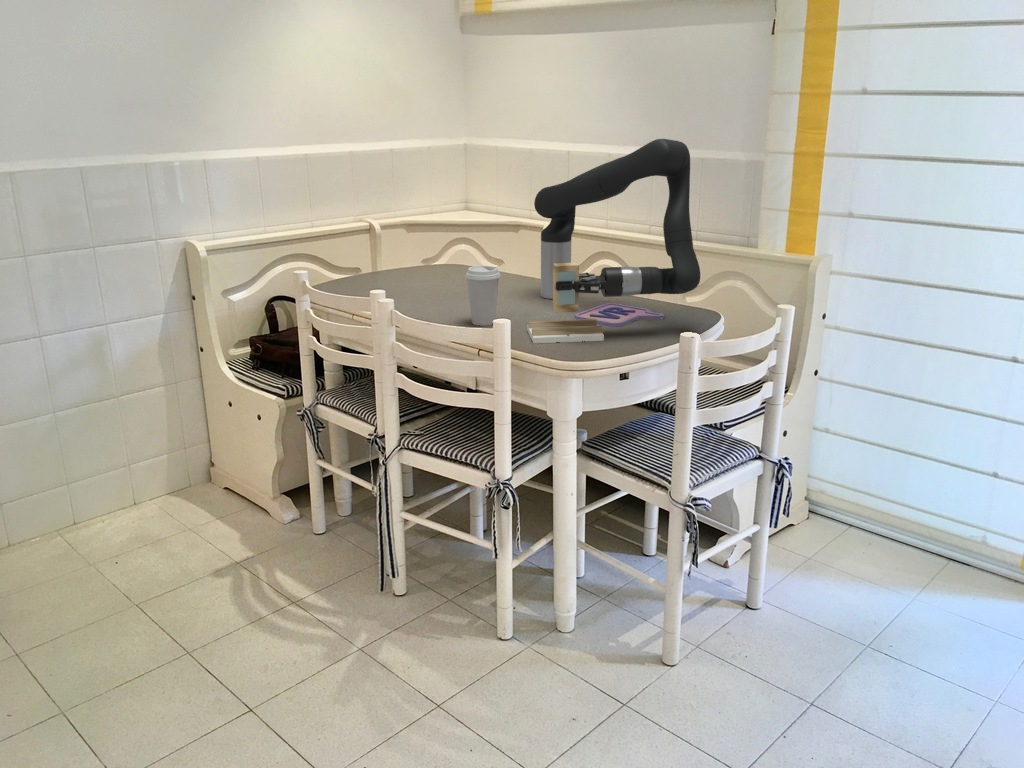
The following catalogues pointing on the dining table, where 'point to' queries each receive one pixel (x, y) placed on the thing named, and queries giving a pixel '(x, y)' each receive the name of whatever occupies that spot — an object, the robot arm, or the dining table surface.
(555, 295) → the wooden block
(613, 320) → the icon
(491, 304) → the coffee cup
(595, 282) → the robot arm
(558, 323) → the ledge
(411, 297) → the dining table surface
